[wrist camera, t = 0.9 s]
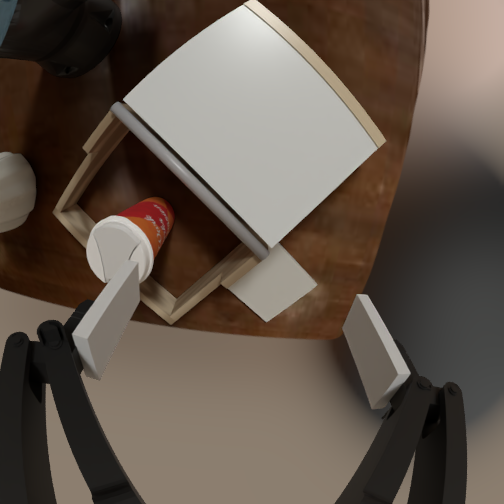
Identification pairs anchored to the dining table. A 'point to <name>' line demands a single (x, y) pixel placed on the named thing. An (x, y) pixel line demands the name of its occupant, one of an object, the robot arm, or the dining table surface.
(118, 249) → the coffee cup
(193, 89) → the lid
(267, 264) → the stone tile
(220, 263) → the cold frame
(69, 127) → the dining table surface
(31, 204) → the vase
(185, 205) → the dining table surface
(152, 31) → the dining table surface
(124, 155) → the dining table surface
